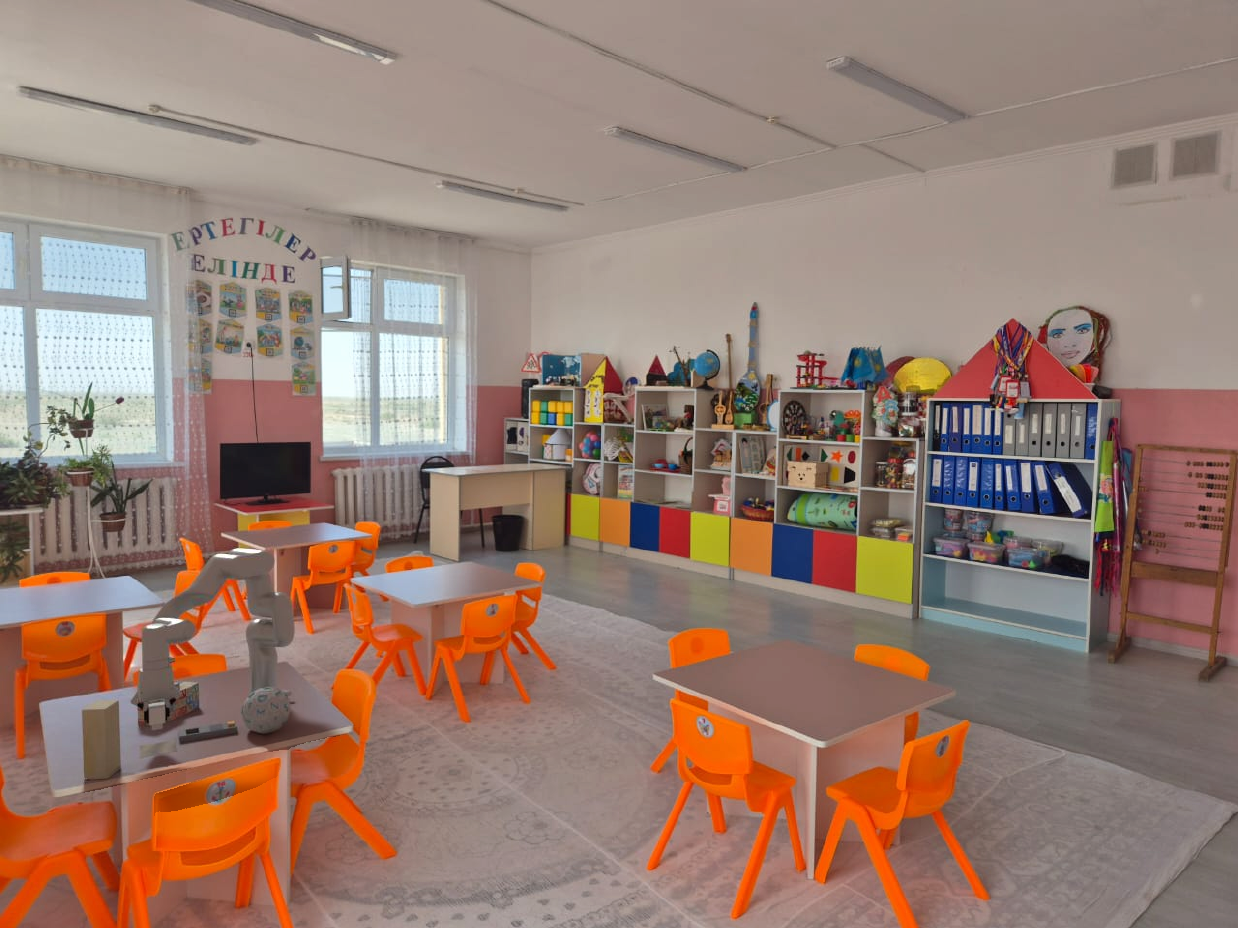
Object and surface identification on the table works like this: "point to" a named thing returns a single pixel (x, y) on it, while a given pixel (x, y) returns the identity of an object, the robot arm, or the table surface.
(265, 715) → the puzzle ball
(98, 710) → the tall wooden block
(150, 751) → the pad
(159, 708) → the block
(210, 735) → the power strip
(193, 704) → the stack of blocks
